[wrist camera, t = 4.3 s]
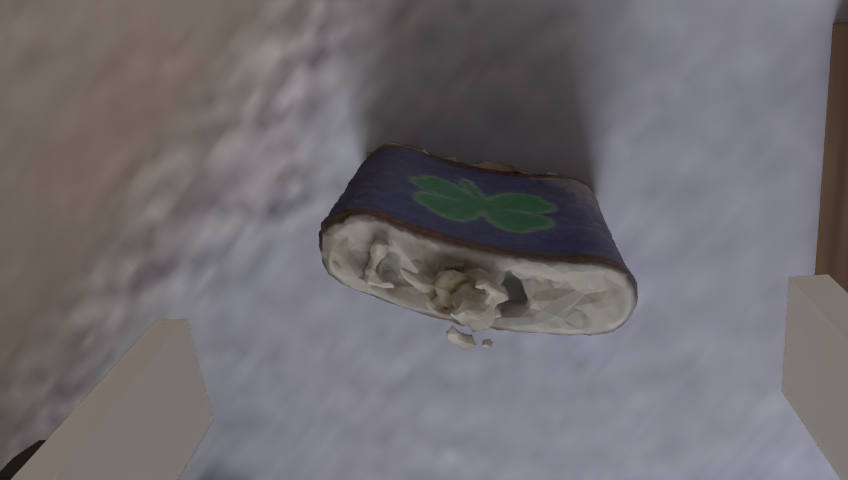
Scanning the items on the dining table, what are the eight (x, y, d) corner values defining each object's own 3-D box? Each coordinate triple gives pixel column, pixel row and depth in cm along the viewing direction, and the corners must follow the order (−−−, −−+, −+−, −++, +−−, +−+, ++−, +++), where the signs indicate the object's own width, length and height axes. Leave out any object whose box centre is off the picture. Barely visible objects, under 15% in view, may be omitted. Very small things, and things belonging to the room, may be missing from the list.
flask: (602, 180, 28) (666, 301, 18) (582, 249, 29) (632, 400, 19) (367, 133, 28) (300, 227, 18) (355, 204, 29) (287, 330, 19)
